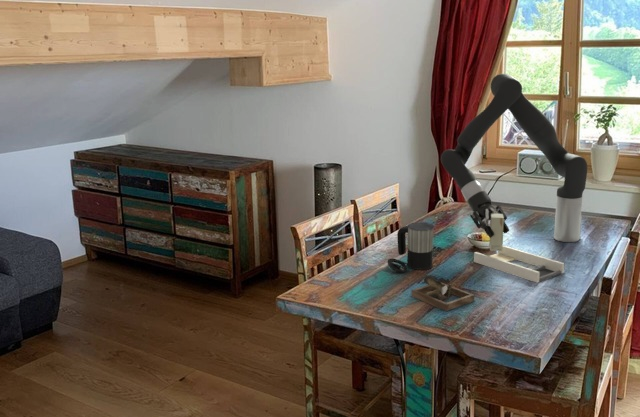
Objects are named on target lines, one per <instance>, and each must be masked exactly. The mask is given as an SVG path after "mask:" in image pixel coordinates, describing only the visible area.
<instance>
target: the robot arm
mask: <svg viewBox="0 0 640 417" xmlns="http://www.w3.org/2000/svg"><path fill="white" fill-rule="evenodd" d="M490 91H491V94H492V95H493V97H492V100H491V102H489V104H488V105H487V106H486V108H484V110H482V112H480V113H479V114H477V115H476V116H475V117H474V118H473V119H471V120H470V122H468V123H467V125H466V126H465V128H464V129H463V130H462V131H461V133H460V134H459V135H458V137H457V140H456V141H457V145H456V147H455V148H454V149H450V148H449V149H446V150H444V151H442V153H441V155H440V162H441V164H442V167H443V168H444V170H445V171H446V172H447V173H448V174H449V175H450V177H451V178H452V179H453V180H454V182H455V183H456V185H457V187H458V189H459V190H460V191H461V194H462V196H463V197H464V200H465V201H466V202H467V204H468V206H469V207H470V209H471V211H472V213H470V214H469V217H470V218H471V219H472V221H473V223H474V224H475V226H476V228H477V229H482V230H484V232H485V233H486V235H487V236H488V237H489V238H490V237H493V236H494V232H493V231H492V229H491V227H490V225H489V221H490V219H491V214H492V213H493V214H503V216H504V224H503V234H507V233H509V232H510V229H509V227H508V224H507V223H506V220H508V217H507V214H506V213H505V212H504V210H503V208H502V207H501V206H500V205H497V206H493V205H492V199H491V197H490V196H489V195H488V193H487V192H486V190H485V188H484V187H483V185H482V184H481V183H480V181H478V178H477V177H476V175H475V174H474V173H473V171H472V170H471V169H470V168H469V167H467V166H466V164H467V162H468V161H469V159H470V157H471V155H472V153H473V150H474V149H475V147H476V146H477V145H478V144H479V142H480V141H481V140H482V138H483V137H484V136H485V134H486V133H487V131H488V130H489V129H491V127H492V126H493V125H494V123H495V122H497V121H498V120H499V118H500V117H501V116H502V115H503V114H504V113H505V112H506V111H507V110H509V111H510V113H511V114H512V116H513V117H514V119H515V121H516V122H517V124H518V125H519V127H520V129H522V130H523V132H524V133H525V134H526V135H527V137H528V138H529V139H530V140H531V141H532V143H533V144H534V145H535V146H536V147H537V148H538V150H540V151H541V153H543V155H544V156H545V158H546V159H547V161H548V162H549V164H550V165H551V167H552V169H553V170H554V171H555V173H556V174H557V175H558V176H560V177H563V178H564V180H563V181H564V182H563V186H559V187H558V188H557V189H556V202H555V217H554V218H555V219H554V234H553V235H554V236H553V238H554V240H556V241H557V242H558V241H559V242H563V243H576V242H578V241H580V239H581V236H582V235H581V234H582V220H583V216H582V207H583V206H582V203H583V193H584V191H585V188H586V185H587V184H586V183H587V177H588V176H587V175H588V162H587V161H586V159H585V158H584V157H583V156H580V155H577V154H573V153H570V152H569V151H568V150H566V148H565V147H564V146H563V145H562V144H561V143H560V141H559V140H558V136H557V132H556V129H555V127H554V125H553V124H552V122H551V121H550V120H549V119H548V117H547V116H546V114H544V113H543V112H542V111H541V110H540V109H539V108H538V107H537V106H536V105H534V103H532V102H531V101H530V100H529V99H528V98H527V97H526V96H525V95H524V93H523V86H522V83H521V82H520V81H519V80H518V79H516V78H515V77H514V76H512V75H511V74H508V73H499V74H496V75H495V76H494V77H493V78H492V79H491V82H490Z"/></svg>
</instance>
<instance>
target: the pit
mask: <svg viewBox="0 0 640 417" xmlns="http://www.w3.org/2000/svg"><path fill="white" fill-rule="evenodd" d="M532 270H535V271H538V272H540V275H539V282H538V283H540V282H543V281H546V280H548V279H551V278H554V277H557V276H559V275H562V274H561V271H560V270H558V271H552V270H549V269H545V266H544V265H543V266H540V267H538V266H536V268H535V267H534V268H532Z"/></svg>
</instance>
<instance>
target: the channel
mask: <svg viewBox="0 0 640 417" xmlns="http://www.w3.org/2000/svg"><path fill="white" fill-rule="evenodd" d="M497 253H498V254H501V255H504V256H507V257H511V258H514V259H515V260H516V261H520V262H522V263H525V264H529V265H532V266H536V267H540V266H543V265H544V266H545V269H549V270H552V271H558V270H560V271H561V274H560V275H562V274H564V272H565V270H564V269H565V263H564V262H561V261H557V260H555V259H552V258H548V257H544V256H542V255H538V254H533V253H531V252H527V251H523V250H520V249H517V248H513V247H510V246H506V245H504V244H503V248H502V251H497ZM515 260H514V261H515ZM473 262H474V263H475V264H476V263H477V264H480V265H482V266H485V267H489V268H491V269H494V270H497V271H500V272H504V273H507V274H509V275H513V276H515V277H519V278H522V279H525V280H528V281H531V282H534V283H540V282H539V275H540V272H538V271H535V270H532V269H533V268H532V269H531V268H528V267H526V266H522V265H519V264H516V263H512V262H511V261H510V262H507V261H503V260H500V259H497V258H494V257H491V255H487V254H484V253H481V252H479V251H475V252H473Z"/></svg>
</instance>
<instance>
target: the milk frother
mask: <svg viewBox="0 0 640 417" xmlns="http://www.w3.org/2000/svg"><path fill="white" fill-rule="evenodd" d="M434 229H435V225H434V224H432V223H429V222H424V221H423V222H421V221H418V222H411V223H410V222H409V224H407V225H404V226H402V227H400V228H399V229H398V231H397V235H396V236H397V250H398V252H397V253H398V255H400V256H403V255H405V254H406V252H407V259H406V260H407V262H404V261H402V260H399V259H396V258H389V259H388V260H387V266H388V267H389V269H391V270H393V271H394V272H396V273H406V272H407V271H408V268H410V269H413V270H420V271H421V270H429V269H432V267H434V263H433V244H434ZM406 233H407V241H406ZM406 242H407V244H406ZM406 245H407V246H406ZM406 249H407V250H406ZM402 267H403V268H402Z"/></svg>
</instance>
